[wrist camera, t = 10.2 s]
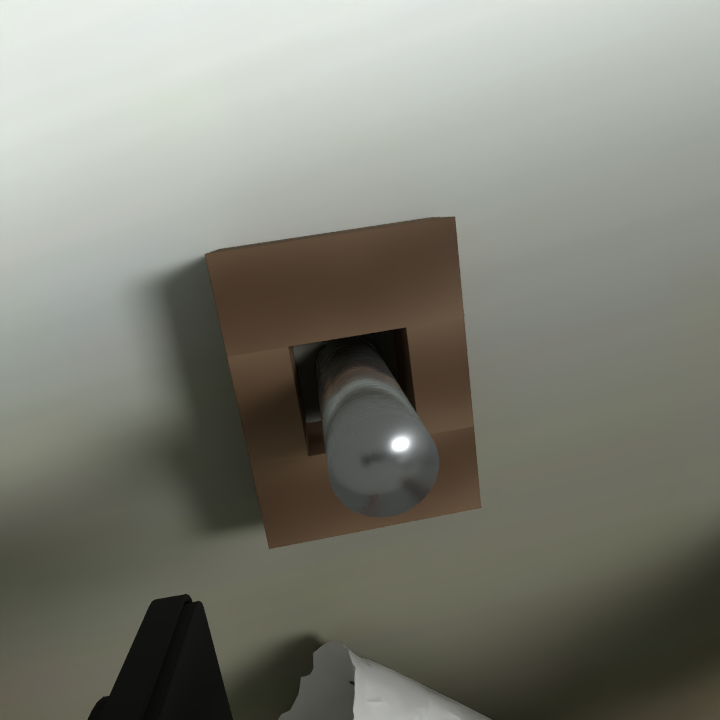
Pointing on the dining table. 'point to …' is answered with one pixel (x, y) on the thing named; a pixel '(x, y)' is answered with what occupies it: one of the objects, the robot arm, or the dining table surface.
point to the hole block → (338, 320)
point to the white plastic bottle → (367, 692)
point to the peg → (371, 432)
